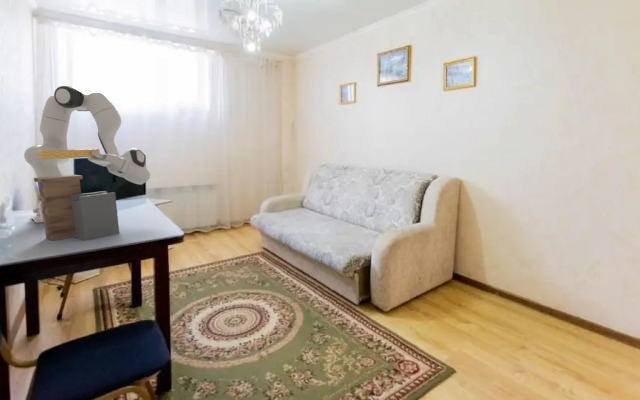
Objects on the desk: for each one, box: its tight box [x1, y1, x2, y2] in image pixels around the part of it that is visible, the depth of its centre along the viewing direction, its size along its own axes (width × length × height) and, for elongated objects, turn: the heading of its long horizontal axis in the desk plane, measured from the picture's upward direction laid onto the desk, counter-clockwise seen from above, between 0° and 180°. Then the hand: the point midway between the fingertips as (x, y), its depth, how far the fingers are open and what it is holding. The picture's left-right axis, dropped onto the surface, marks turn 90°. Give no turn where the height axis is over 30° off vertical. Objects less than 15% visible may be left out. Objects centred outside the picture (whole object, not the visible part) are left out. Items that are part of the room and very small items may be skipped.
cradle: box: [71, 190, 120, 241], centre depth 152 cm, size 8×14×18 cm, turn 148°
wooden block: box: [38, 148, 101, 159], centre depth 151 cm, size 22×4×4 cm, turn 147°
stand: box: [33, 174, 84, 241], centre depth 151 cm, size 7×15×26 cm, turn 147°
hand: (88, 152), depth 157 cm, fingers closed on wooden block, 3 cm apart
